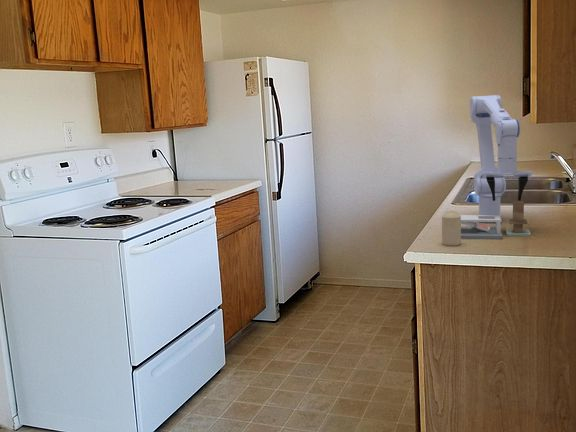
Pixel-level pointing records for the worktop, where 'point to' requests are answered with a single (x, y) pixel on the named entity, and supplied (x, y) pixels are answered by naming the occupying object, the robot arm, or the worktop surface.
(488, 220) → the breaker housing
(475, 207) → the worktop surface
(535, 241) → the worktop surface
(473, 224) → the rocker switch
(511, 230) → the mat
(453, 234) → the candle
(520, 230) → the brown block
